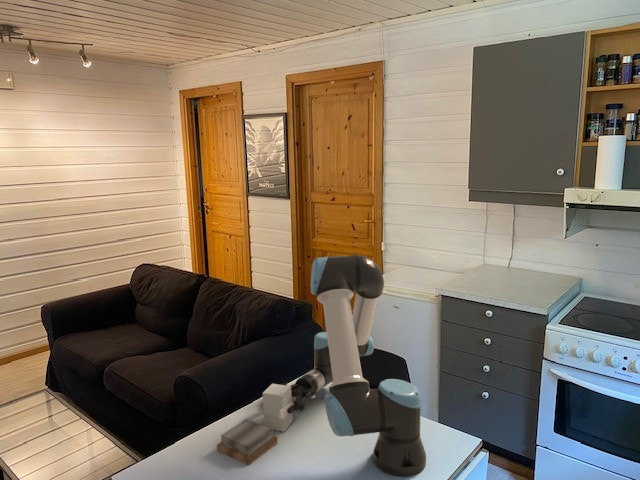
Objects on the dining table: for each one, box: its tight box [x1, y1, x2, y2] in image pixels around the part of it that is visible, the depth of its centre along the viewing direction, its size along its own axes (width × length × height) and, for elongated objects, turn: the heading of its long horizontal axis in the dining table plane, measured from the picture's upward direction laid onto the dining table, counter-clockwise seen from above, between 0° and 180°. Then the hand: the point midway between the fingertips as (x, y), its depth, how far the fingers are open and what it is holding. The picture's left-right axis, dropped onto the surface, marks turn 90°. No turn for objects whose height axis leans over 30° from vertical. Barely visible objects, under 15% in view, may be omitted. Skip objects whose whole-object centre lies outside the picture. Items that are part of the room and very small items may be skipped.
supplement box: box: [262, 383, 294, 433], centre depth 160 cm, size 7×7×13 cm
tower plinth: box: [216, 418, 278, 466], centre depth 149 cm, size 13×13×5 cm
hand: (268, 411), depth 157 cm, fingers closed on supplement box, 8 cm apart
